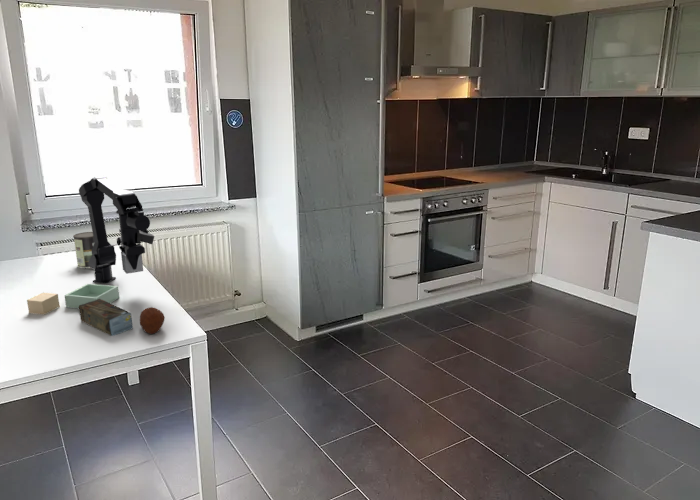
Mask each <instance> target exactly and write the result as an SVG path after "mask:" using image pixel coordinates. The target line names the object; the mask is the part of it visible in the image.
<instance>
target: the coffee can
mask: <svg viewBox="0 0 700 500" xmlns="http://www.w3.org/2000/svg"><path fill="white" fill-rule="evenodd" d="M73 241H74V248H75V249H74V250H75V256H76V263H77V268H79V269H85V268H86V269H91V268H90V266H89V260H90V258H91V256H92V248H93V245H94V237H93V232H92V231H84V232H79V233H75V234H73Z"/></svg>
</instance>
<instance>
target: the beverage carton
mask: <svg viewBox="0 0 700 500" xmlns="http://www.w3.org/2000/svg"><path fill="white" fill-rule="evenodd" d="M78 311H79V317H80V321H81V322H83V323H84V324H86V325H89V326H90V327H93V328H94V329H96V330H99V331H100V332H102V333H105V334H107V335H109V336H111V337H113V336H115V335H118V334H121V333H124V332H126V331H130V330H132V329H133V328H134V327H133V318H132V313H131V312H130V311H128V310H126V309H123V308H121V307H119V306H117V305H115V304H112V302H111V303H108V302H106V301H104V300H101V299H97V300H95V301H91V302H88V303H85V304H82V305H79V308H78Z"/></svg>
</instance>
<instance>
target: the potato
mask: <svg viewBox="0 0 700 500" xmlns="http://www.w3.org/2000/svg"><path fill="white" fill-rule="evenodd" d="M165 319H166V317H165V315H164V312H162V311H161V310H160V309H158V308H156V307H153V306H151V307H147V308H144V309H143V310H142V311H141V312H140V315H139V325H140V326H141V329H142V330H143V331H144V332H145V333H147V334H149V335H153V334H156V333H158V332H159V331H160V330H161V328H162V327H163V324H164V322H165Z"/></svg>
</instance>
